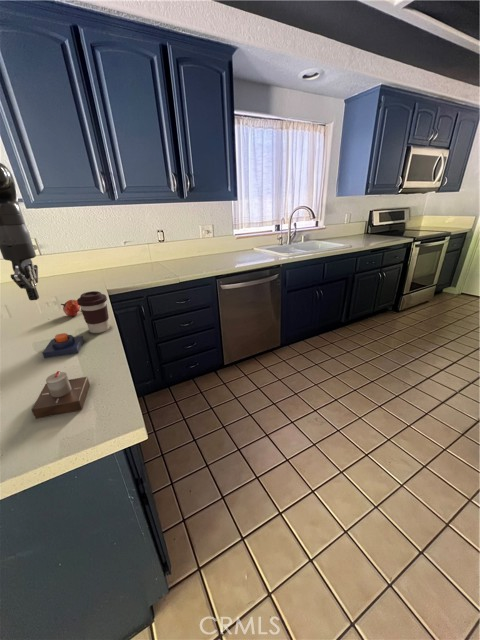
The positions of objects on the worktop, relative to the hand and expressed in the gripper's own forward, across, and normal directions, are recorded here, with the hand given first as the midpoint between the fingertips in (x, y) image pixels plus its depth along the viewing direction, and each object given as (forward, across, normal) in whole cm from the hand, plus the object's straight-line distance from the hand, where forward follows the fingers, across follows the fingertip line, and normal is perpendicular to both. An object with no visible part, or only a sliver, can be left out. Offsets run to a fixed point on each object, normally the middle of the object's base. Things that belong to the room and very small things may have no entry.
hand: (34, 299), depth 81 cm
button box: (+20, -2, +3) cm, 20 cm away
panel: (+19, +27, +10) cm, 35 cm away
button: (+16, -2, +3) cm, 16 cm away
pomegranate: (+20, -34, 0) cm, 39 cm away
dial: (+16, +27, +10) cm, 33 cm away
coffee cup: (+20, -15, +12) cm, 27 cm away
